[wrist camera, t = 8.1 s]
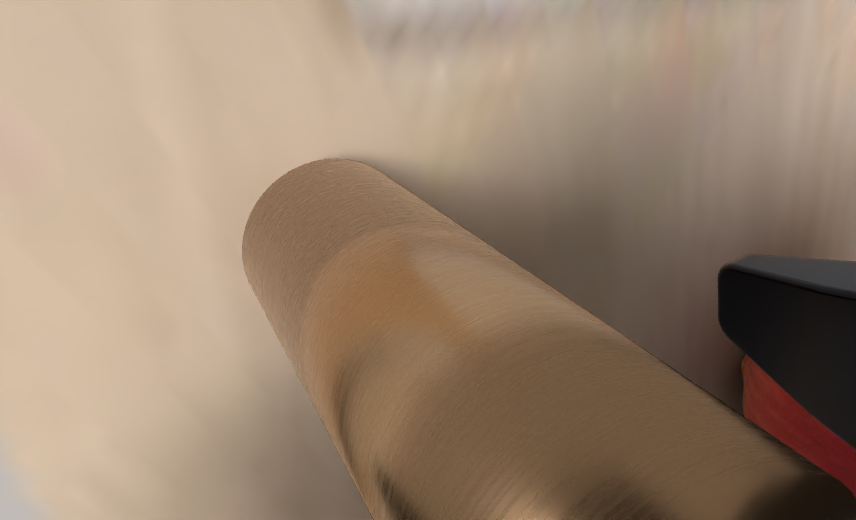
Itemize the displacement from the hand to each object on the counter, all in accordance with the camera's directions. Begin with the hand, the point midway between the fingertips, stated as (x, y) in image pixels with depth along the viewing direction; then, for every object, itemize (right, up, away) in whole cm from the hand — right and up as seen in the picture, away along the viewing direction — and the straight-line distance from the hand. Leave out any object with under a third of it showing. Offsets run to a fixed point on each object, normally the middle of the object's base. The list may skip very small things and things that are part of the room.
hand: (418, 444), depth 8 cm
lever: (+1, -2, +8) cm, 8 cm away
